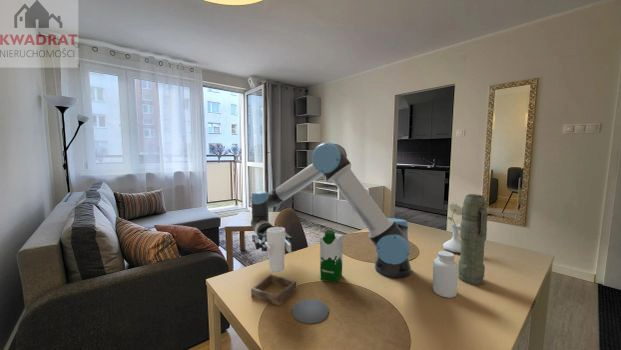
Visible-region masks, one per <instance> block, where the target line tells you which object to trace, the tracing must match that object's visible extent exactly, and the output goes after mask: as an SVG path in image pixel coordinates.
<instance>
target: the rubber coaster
mask: <svg viewBox="0 0 621 350" xmlns="http://www.w3.org/2000/svg"><path fill="white" fill-rule="evenodd" d="M328 307H329V306H328V305H327V304H326V303H324V302H323V301H321V300H319V299H311V298H309V299H308V298H306V299H302V300H300V301H298V302H296V303H295V304H294V305H293V306H292V308H291V313H292V314H291V315H292V317H293V318H294V319H295V321H297V322H299V323H302V324H306V325H307V324H308V325H311V324H319V323H320V322H322V321H325V320H326V318H327V317H328V315H329V308H328Z"/></svg>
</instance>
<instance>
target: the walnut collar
mask: <svg viewBox="0 0 621 350" xmlns="http://www.w3.org/2000/svg"><path fill="white" fill-rule="evenodd" d="M271 284H273V285H276V286H280V287H283V288H284V289H283V290H282V291H281V292H279V293H278V294H276V293H272V292H269V291H266V290H265V289H266V288H268V287H269V286H270V285H271ZM296 289H297V280H295V279H290V278H285V277H282V276H278V275H274V274H269V275H268V276H267V277H265V278H264V279H262V280H261V281H260V282H258V283H257V284H256V285H254V286H253V287H252V288H250V293H251V295H250V296H251V298H254V299H257V300H260V301H263V302H266V303H269V304H273V305H275V306H278V307H279V306H280V305H281V304H283V302H284V301H285V300H286V299H288V297H290V296H291V295H292V293H294V292H295V291H296Z"/></svg>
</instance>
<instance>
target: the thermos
mask: <svg viewBox="0 0 621 350" xmlns="http://www.w3.org/2000/svg"><path fill="white" fill-rule="evenodd" d="M462 203H463V204H462V205H463V206H462V207H461V208H462V215H461V222H460V225H461V227H460V228H459V236H460V240H461V253H460V256H459V257H460V258H459V260H458V263H457V266H458V274H457V279H459V280H460V281H462V282H463V283H465V284H468V285H472V286H482V285H483V284H484V278H485V268H486V267H485V263H484V260H485V259H484V258H485V257H484V255H485V242H486V240H487V235H488V234H487V231H488V227H487V225H488V224H487V223H488V214H489V213H488V211H487V201H486V199H485V196H483V195H481V194H473V193H472V194H471V193H469V194H467V195H466V196H465V198H464V200H463V202H462Z"/></svg>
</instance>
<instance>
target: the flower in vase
mask: <svg viewBox="0 0 621 350" xmlns="http://www.w3.org/2000/svg"><path fill="white" fill-rule="evenodd" d="M448 208H449V210H450V212H451V213H452V215H451V216H447V218H446V219H447V220H449V221H451V222H453V223H450V226H451V227H452V237H451V239H449V240H446V241H445V242H444V243H443V244H442V247H443V249H444V250H447V251H448V252H451V253H458V254H459V253H460V254H461V241H460V239H459V232H460V227H461V224H459V223H458V222H460V220H461V219H458V220H456V221H454V215H456V216H462V207H461V206H460V205H458V203H455V202H451V203H449V204H448Z"/></svg>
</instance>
